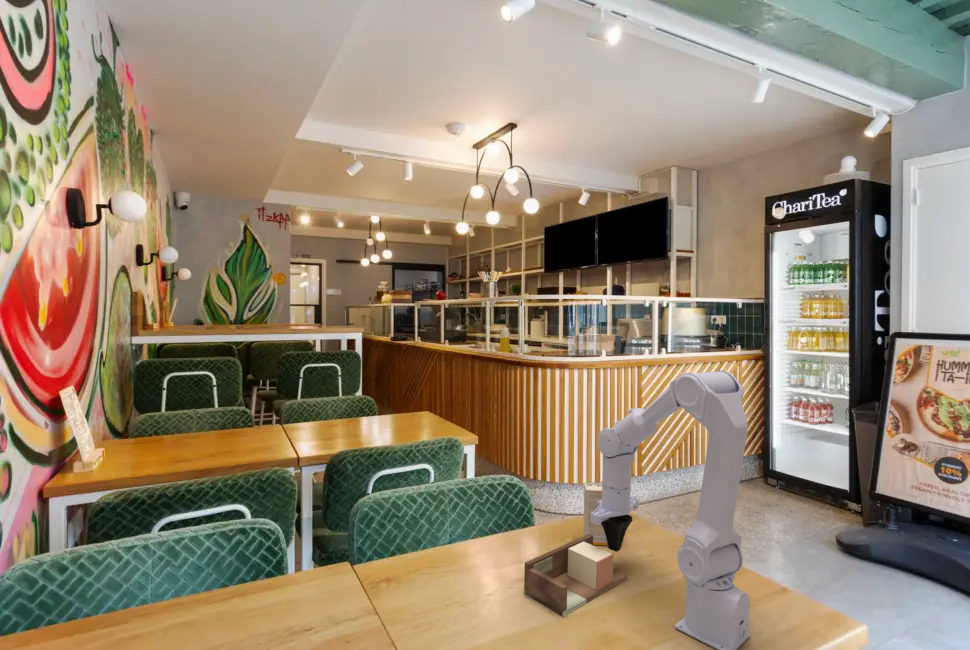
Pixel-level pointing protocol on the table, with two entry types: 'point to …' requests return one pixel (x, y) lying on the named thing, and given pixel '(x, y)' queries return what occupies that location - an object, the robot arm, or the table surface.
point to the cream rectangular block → (590, 565)
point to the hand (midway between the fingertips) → (614, 549)
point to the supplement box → (590, 505)
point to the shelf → (561, 580)
